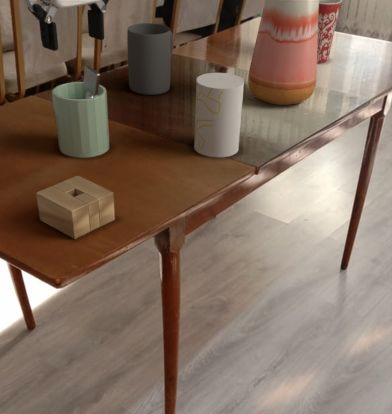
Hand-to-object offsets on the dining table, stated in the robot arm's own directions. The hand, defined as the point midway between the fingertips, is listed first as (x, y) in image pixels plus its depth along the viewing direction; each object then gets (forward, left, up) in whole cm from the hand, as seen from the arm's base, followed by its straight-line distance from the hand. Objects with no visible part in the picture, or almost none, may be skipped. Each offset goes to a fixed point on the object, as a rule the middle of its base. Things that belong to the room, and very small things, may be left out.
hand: (74, 43), depth 102 cm
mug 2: (+76, +2, -18) cm, 78 cm away
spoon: (0, 0, -17) cm, 17 cm away
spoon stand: (-18, -19, -18) cm, 31 cm away
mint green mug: (0, +2, -18) cm, 18 cm away
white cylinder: (+17, -17, -18) cm, 30 cm away
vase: (+47, -10, -18) cm, 52 cm away
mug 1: (+33, +14, -18) cm, 40 cm away
